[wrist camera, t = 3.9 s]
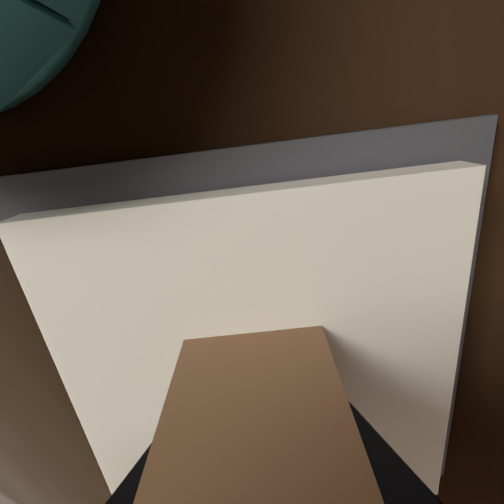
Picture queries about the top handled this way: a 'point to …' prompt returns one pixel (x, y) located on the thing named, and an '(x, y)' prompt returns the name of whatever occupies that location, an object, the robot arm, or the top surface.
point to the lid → (259, 329)
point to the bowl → (38, 43)
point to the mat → (262, 173)
